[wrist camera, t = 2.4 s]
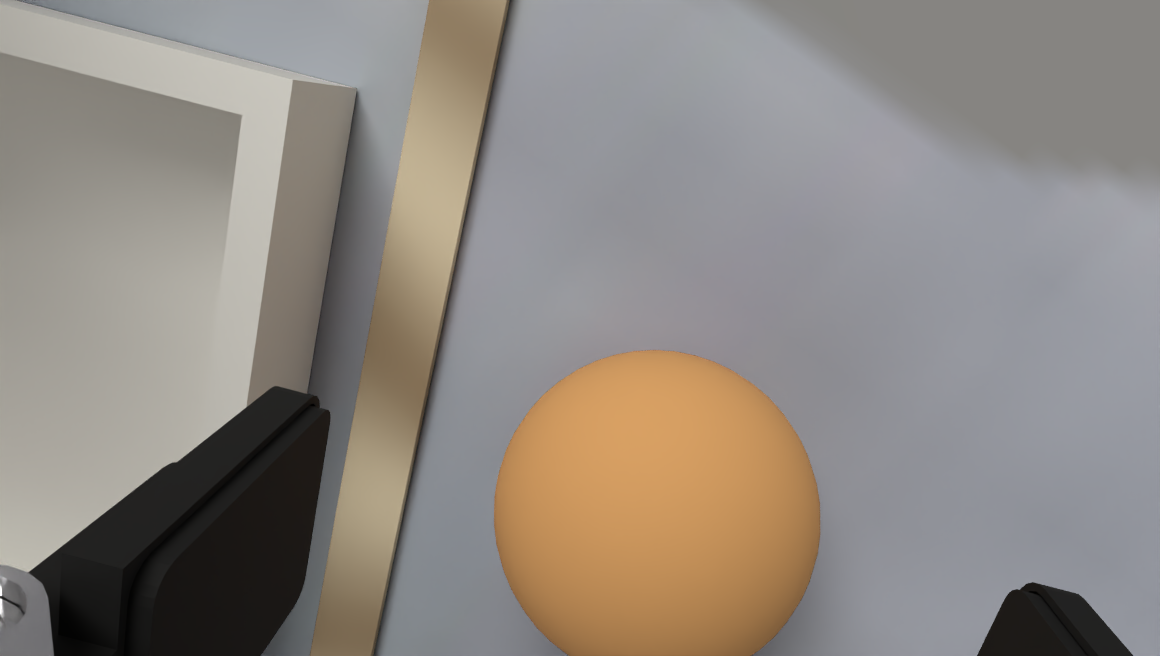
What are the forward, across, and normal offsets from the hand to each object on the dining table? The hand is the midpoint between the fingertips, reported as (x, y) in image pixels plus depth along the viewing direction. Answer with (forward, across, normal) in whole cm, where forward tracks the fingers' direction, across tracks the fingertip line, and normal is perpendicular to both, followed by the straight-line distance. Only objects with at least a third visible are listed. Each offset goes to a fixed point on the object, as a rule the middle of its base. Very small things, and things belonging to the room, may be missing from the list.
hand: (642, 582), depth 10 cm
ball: (+7, -1, +1) cm, 7 cm away
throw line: (+7, +5, +1) cm, 9 cm away
